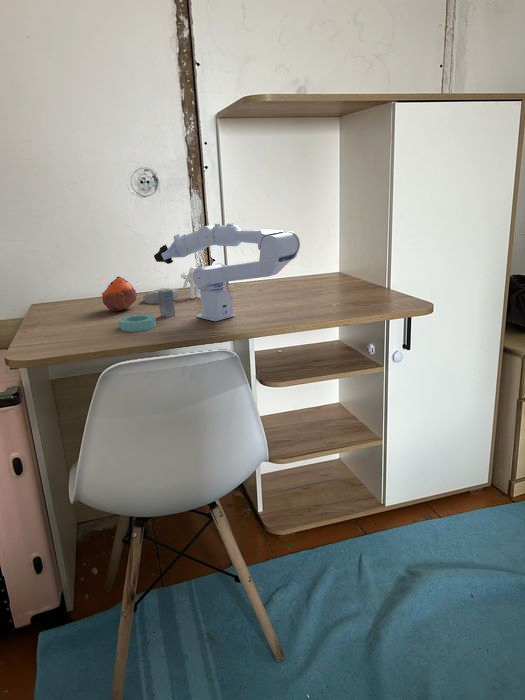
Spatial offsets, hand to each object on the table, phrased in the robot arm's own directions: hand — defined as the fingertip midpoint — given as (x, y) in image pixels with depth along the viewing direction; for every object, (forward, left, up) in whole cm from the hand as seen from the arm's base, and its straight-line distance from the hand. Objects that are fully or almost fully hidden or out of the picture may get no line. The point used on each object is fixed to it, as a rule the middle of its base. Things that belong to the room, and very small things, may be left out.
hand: (164, 254), depth 172 cm
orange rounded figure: (+13, +11, -18) cm, 25 cm away
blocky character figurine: (+8, -16, -18) cm, 26 cm away
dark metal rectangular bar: (-7, +6, -18) cm, 20 cm away
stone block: (+16, -7, -19) cm, 25 cm away
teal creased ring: (-11, +19, -18) cm, 28 cm away
